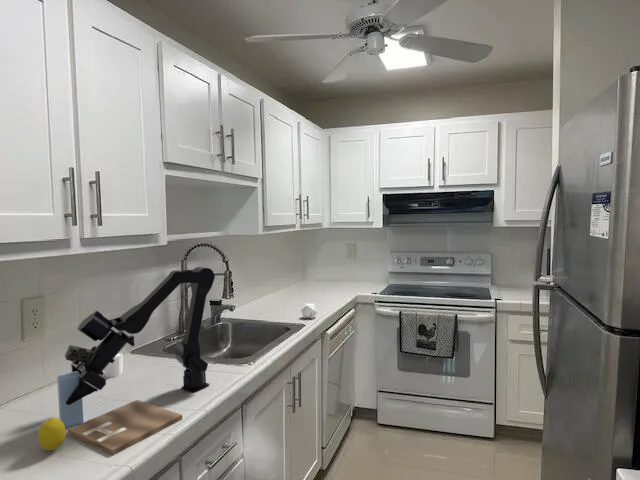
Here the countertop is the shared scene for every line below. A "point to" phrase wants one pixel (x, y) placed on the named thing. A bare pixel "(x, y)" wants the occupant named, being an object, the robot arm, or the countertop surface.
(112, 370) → the shot glass
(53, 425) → the lemon
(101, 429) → the board
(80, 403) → the light blue block
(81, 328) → the robot arm
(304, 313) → the die
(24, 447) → the countertop surface
